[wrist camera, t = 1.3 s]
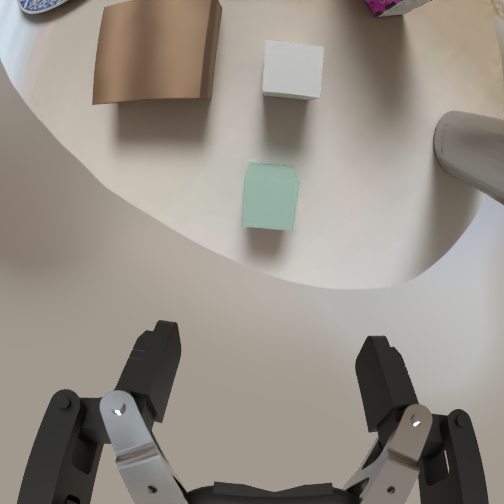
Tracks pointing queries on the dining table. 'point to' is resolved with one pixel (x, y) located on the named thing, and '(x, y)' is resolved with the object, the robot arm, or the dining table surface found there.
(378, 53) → the dining table surface
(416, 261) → the dining table surface
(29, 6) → the ceramic plate
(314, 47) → the grey block
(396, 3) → the candy bar box
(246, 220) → the sage block
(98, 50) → the walnut block
